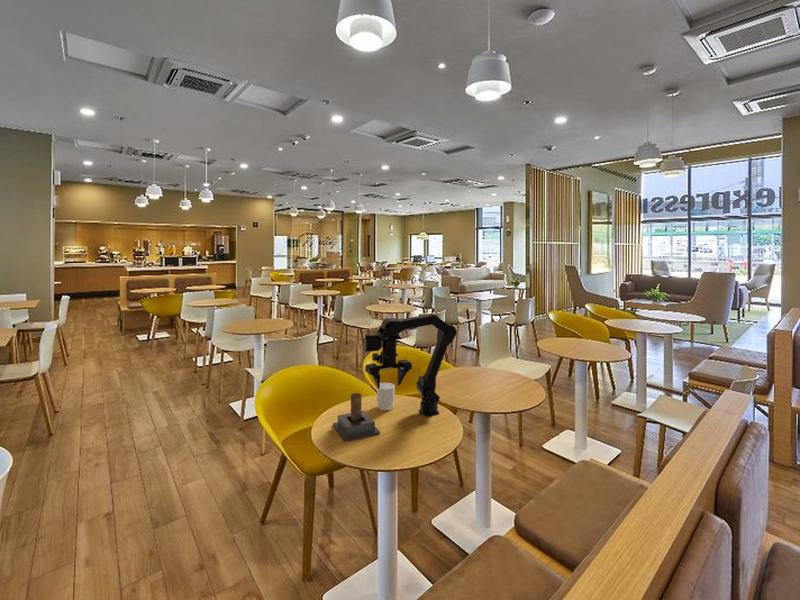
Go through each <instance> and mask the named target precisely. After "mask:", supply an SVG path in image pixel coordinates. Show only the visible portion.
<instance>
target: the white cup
mask: <svg viewBox="0 0 800 600" xmlns="http://www.w3.org/2000/svg"><path fill="white" fill-rule="evenodd" d="M395 388H396V385H395V384H394V383H391V382H380V387H379V389H377V388H376V400H377V401H376V402H377V409H378V408H379V409H378V410H380V409H381V410H380V411H383V410H388V411H392V410H393V409H394V402H395ZM392 408H393V409H392Z"/></svg>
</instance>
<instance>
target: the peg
mask: <svg viewBox="0 0 800 600" xmlns="http://www.w3.org/2000/svg"><path fill="white" fill-rule="evenodd" d="M361 411H362V394H361V393H359V392H358V393H357V392H355V393H352V394H350V413H351V423H356V422H361Z"/></svg>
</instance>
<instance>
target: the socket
mask: <svg viewBox="0 0 800 600" xmlns="http://www.w3.org/2000/svg"><path fill="white" fill-rule="evenodd" d="M332 426H334V427H333V428H334V429H335V431H336V432H337V434H339V436H340V438H341V439H342V440H343V442H344V441H346V442H349V441H354V440H359V439H363V438H369V437H373V436H376V435H381V431H380V430H379V429H378V428H377V427H376V422H375V421H374V419H373V418H372V417H370V415H369V414H368V413H367V412H366V411H365V410H361V422H356V423H351V412H350V413H344V414H337V422H332Z"/></svg>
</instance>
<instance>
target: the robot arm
mask: <svg viewBox="0 0 800 600" xmlns="http://www.w3.org/2000/svg"><path fill="white" fill-rule="evenodd" d="M380 325H381V326H380V327H379V328H378V330H377V331H376V332H375V333H374V334H368V333H367V334H364V337H363V341H362V346H363V347H362V349H363V351H364V353H367V352H370V353H371V352H374V353H372V354H371V356H372V357H371V359H372V362H376V363H377V364H379V365H377V364H376V363H368V364H367V363H366V365H365V367H364V371H365V372H366V373H367V374H368V375H370V376H371V377H372V378H373V380H374V383H375V386H376V390H377V389H379V387H380V383H381V374H380V371H386V370H392V369H397V381H396V383H397V386H401V384H402V382H403V379H404V378H405V377H406V375H407V373H408V372H409V373H410V370H412V369H413V364H412V362H410V360H408V359H406V358H405V359H398V361H397V357H398V353H397V342H398V341H397V340H402V337H401V336H400V333H402V332H403V331H406V330H409V329H415V328H420V327H426V326H427V327H428V326H433V327H434V328H436V330H437V331H436V344H435V347H434V349H433V351H432V353H431V357H430V360H429V363H428V365H427V368H426V370H425V373H424V374H423V375H419V376H418V380H417V382H416V383H415V385H416V390H417V391H418V392H419V394H420V396H422V398H421V401H420V403H419V404H420V408H419V410H418V411H419V412H420V413H422V414H423V415H424V416H426V417H430V416H435V415H439V414H440V412H439V410H438V406H439V401H440V399H441V397H440V396H439V394H437V392H436V386H437V376H438V373H439V370H440V367H441V364H442V363H443V359H444V357H445V354H446V352H447V348H448V347H449V346H450V344H452V343H453V341H454V339H455V337H456V336H457V334H458V330H457V328H456V327H455V326H454V325H452V324H450V323H448V322H446V321H444V320H442V319H441V318H440V317H439V316H438V315H436V314H434V313H429V314H424V315H419V316H418V315H417V316H412V317H406V318H405V317H404V318H396V317H388V318H384V319H383V320H382V322H381V324H380ZM380 350H381V351H380ZM379 351H380V354H379V353H378V352H379Z"/></svg>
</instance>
